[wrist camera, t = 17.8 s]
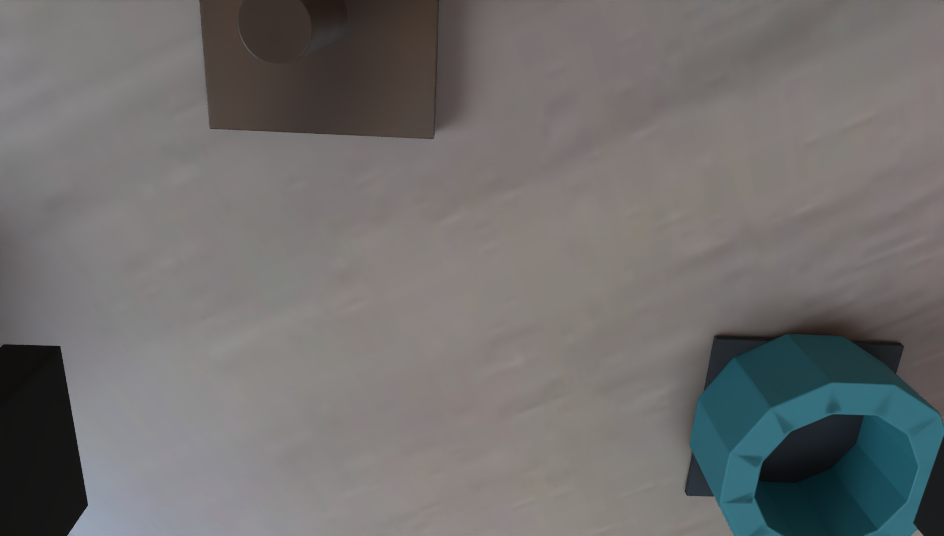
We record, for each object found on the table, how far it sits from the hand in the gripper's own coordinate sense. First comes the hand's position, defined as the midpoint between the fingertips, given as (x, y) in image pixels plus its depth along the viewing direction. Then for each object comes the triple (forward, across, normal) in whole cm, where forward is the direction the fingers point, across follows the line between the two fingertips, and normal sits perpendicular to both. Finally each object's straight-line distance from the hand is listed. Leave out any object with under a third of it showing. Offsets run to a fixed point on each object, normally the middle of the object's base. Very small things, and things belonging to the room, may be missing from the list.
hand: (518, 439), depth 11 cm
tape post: (+25, -7, +4) cm, 26 cm away
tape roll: (+24, +18, -16) cm, 34 cm away
